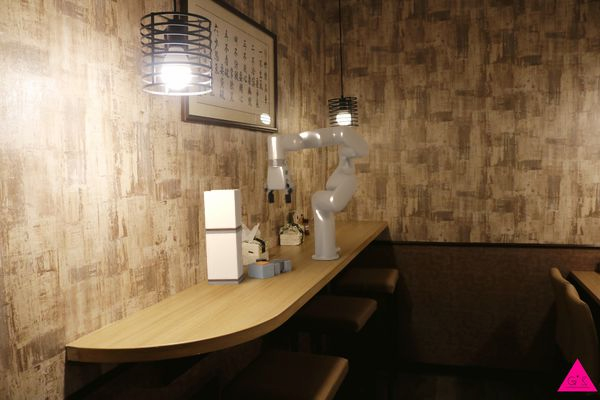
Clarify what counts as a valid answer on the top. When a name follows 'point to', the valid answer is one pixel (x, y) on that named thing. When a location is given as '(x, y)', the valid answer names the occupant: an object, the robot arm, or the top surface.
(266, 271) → the end holder
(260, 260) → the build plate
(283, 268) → the orange and grey bar
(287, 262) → the clip
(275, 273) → the clip
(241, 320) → the top surface
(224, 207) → the white banded pillar
